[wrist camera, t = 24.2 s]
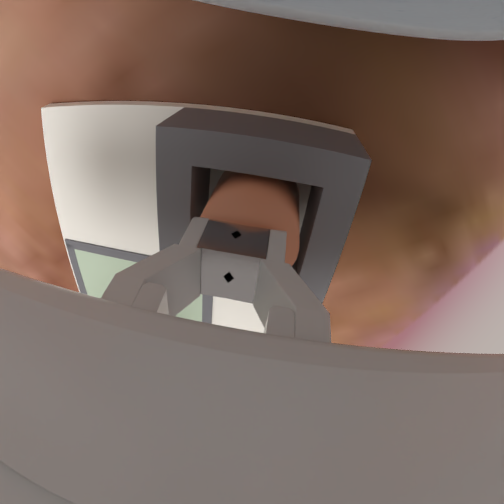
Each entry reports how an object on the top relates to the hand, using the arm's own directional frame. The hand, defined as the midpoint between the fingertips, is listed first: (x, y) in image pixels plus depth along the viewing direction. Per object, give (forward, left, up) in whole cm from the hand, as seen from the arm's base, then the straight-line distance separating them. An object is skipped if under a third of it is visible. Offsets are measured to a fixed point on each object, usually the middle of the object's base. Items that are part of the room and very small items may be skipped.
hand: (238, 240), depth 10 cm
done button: (0, 0, -4) cm, 4 cm away
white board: (+6, -4, -5) cm, 8 cm away
